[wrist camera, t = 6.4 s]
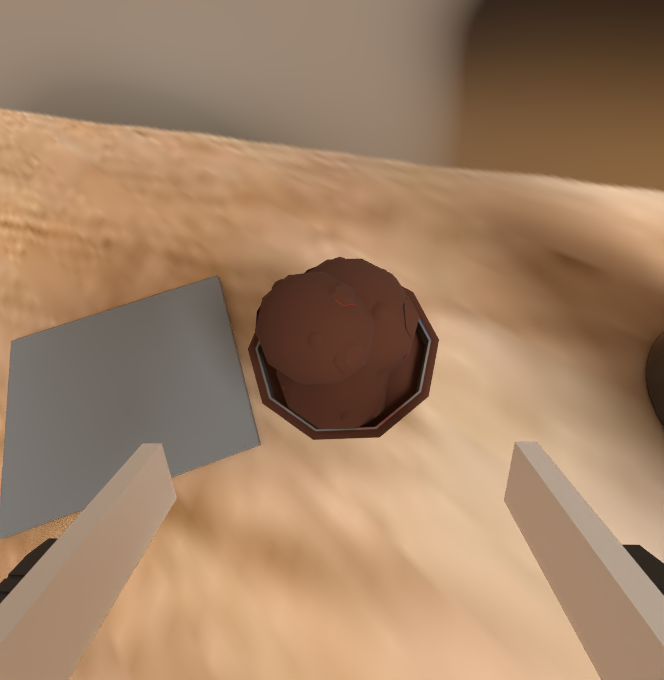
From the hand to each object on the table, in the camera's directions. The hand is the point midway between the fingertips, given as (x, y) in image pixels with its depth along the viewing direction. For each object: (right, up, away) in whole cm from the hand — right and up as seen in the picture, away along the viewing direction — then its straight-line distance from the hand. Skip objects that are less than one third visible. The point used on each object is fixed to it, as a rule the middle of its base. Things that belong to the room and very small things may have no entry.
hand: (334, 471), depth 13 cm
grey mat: (-18, +1, +17) cm, 24 cm away
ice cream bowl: (+1, +1, +16) cm, 16 cm away
